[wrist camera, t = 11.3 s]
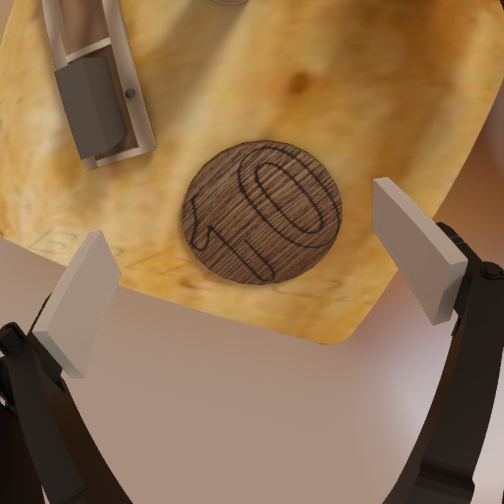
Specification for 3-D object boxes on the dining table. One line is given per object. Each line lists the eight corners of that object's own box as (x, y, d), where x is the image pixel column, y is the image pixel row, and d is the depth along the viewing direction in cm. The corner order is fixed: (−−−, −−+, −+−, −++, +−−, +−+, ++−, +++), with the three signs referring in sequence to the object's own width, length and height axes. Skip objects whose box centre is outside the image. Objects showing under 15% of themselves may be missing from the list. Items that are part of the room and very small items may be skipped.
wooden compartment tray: (112, -57, 23) (104, -64, 20) (158, 145, 42) (153, 152, 39) (47, -26, 24) (35, -29, 21) (93, 165, 43) (84, 173, 40)
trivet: (259, 299, 60) (259, 306, 59) (152, 218, 49) (149, 224, 48) (366, 217, 51) (370, 222, 50) (267, 104, 40) (268, 106, 39)
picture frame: (106, 56, 33) (82, 58, 26) (128, 134, 40) (108, 150, 33) (80, 67, 33) (53, 72, 27) (102, 142, 40) (80, 160, 33)
